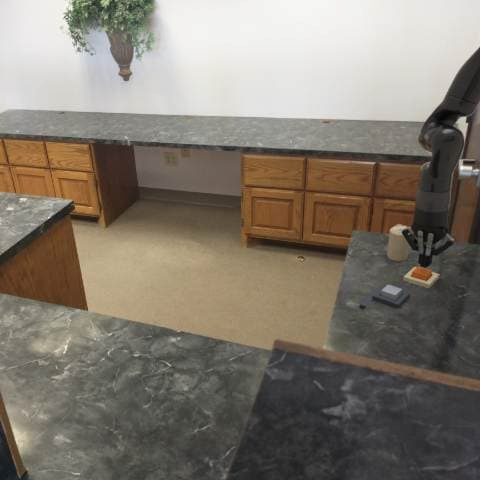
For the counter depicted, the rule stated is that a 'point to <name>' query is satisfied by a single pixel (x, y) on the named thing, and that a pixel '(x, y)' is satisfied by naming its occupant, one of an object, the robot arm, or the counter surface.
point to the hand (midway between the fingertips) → (424, 266)
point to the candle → (397, 244)
